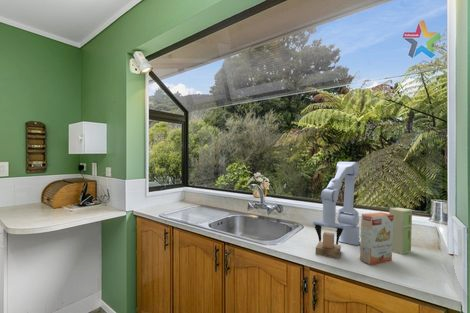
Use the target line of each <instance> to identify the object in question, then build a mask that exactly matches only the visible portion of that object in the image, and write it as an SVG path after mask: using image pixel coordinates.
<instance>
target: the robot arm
mask: <svg viewBox="0 0 470 313" xmlns="http://www.w3.org/2000/svg"><path fill="white" fill-rule="evenodd" d="M359 168H360V166H359V163H358V162H357V161H337V164H336V173H335V175H334V177H333V178H331V179H330V181H329V182H328V184H327V186H326V188H324V189H322V191H321V194H320V198H321V204H322V220H313V221H312V226H314V229H315V232H316V235H317V237H318V242H319V241H320V242H322V228H323V227H324V228H330V229H331V228H332V229H336V231H335V233H336V241H335V244H336V245H339V243H344V244H349V245H356V246H359V245H360V244H359V243H360V242H361V237H360V226H358V225H359V222H360V217H359V212H358V210H356V208H354V199H355V198H354V197H355V183H356V178H358V177H359V171H360V170H359ZM343 180H344V193H343V207H341V208H340V209H338V212H337V213H336V210H337V209H336V207H337V203H336V202H337V201H338V200H339V195H340V190H341V188H342V186H343ZM336 214H337V216H336ZM336 219H337V222H338V223H337V222H336Z"/></svg>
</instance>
